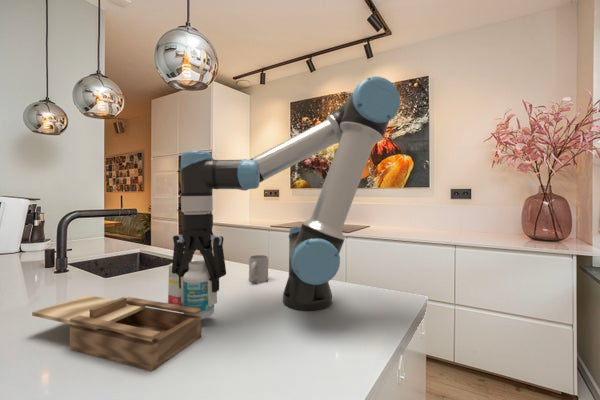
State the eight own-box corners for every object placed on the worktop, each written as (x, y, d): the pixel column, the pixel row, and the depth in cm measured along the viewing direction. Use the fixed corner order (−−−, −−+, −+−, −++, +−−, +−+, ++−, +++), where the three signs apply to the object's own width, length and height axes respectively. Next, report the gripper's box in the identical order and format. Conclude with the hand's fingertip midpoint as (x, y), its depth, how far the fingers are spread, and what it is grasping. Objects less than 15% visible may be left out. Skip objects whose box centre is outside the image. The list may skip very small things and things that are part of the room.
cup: (270, 278, 115) (270, 255, 114) (261, 286, 105) (261, 261, 105) (253, 277, 116) (253, 254, 116) (242, 284, 107) (242, 260, 106)
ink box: (178, 307, 85) (178, 266, 84) (167, 304, 87) (167, 264, 87) (201, 298, 92) (202, 260, 92) (190, 295, 95) (191, 258, 94)
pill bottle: (185, 323, 70) (184, 267, 70) (182, 312, 77) (180, 261, 76) (217, 317, 73) (216, 263, 73) (211, 307, 80) (210, 257, 80)
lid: (145, 308, 71) (145, 297, 71) (96, 330, 60) (96, 316, 60) (86, 297, 78) (86, 287, 78) (32, 315, 67) (31, 303, 67)
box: (201, 336, 67) (201, 308, 67) (152, 371, 54) (152, 336, 54) (128, 322, 75) (128, 296, 74) (69, 349, 61) (69, 318, 61)
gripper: (240, 212, 75) (241, 301, 75) (175, 211, 81) (177, 293, 82) (223, 214, 68) (225, 313, 68) (154, 213, 74) (156, 303, 75)
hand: (199, 302), depth 75 cm, fingers closed on pill bottle, 7 cm apart
